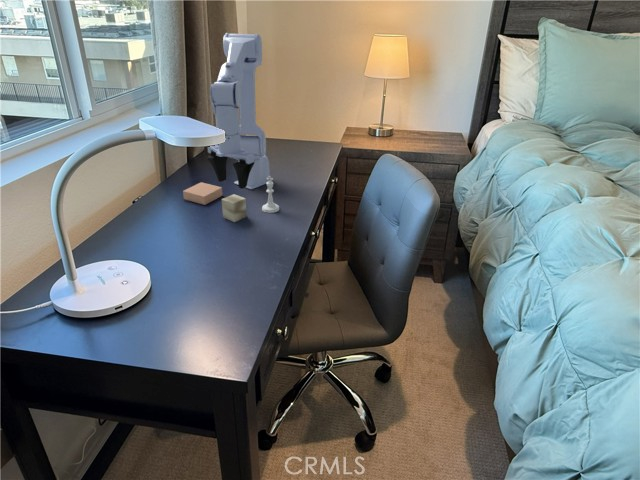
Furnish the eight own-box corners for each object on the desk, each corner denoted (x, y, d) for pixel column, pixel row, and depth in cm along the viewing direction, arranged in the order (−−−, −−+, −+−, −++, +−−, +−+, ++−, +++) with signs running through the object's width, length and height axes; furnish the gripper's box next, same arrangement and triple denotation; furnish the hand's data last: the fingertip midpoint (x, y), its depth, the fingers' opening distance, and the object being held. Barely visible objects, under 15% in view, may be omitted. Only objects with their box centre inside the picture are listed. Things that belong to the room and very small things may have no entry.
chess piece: (276, 213, 125) (275, 180, 120) (259, 211, 126) (258, 178, 121) (281, 206, 129) (280, 173, 124) (265, 204, 130) (263, 172, 125)
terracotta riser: (202, 191, 138) (201, 182, 137) (222, 196, 135) (221, 187, 134) (184, 200, 132) (182, 190, 131) (205, 206, 129) (204, 196, 128)
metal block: (235, 212, 125) (234, 194, 123) (246, 216, 123) (245, 198, 120) (223, 217, 122) (221, 199, 119) (234, 222, 120) (233, 203, 117)
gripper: (196, 130, 111) (202, 181, 118) (238, 141, 104) (241, 195, 111) (217, 125, 117) (221, 174, 123) (258, 135, 109) (261, 186, 116)
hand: (232, 183), depth 117 cm, fingers open, 7 cm apart
